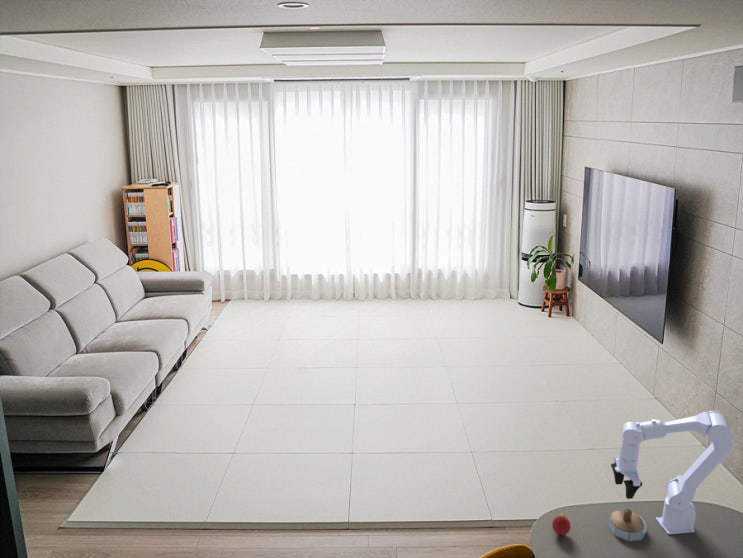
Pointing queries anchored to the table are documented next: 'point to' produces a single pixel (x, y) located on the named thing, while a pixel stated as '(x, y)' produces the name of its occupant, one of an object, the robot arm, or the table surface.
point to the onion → (561, 525)
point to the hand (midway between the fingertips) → (624, 490)
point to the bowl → (628, 535)
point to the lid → (626, 520)
